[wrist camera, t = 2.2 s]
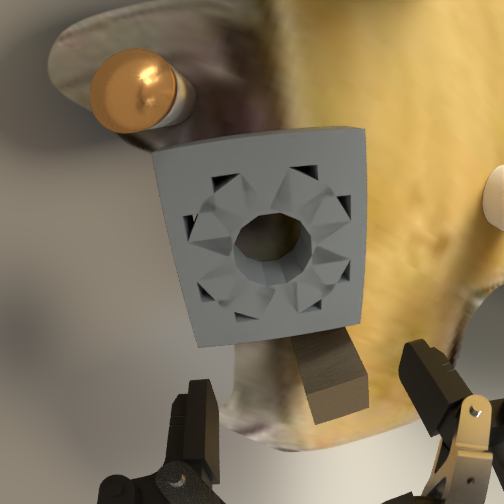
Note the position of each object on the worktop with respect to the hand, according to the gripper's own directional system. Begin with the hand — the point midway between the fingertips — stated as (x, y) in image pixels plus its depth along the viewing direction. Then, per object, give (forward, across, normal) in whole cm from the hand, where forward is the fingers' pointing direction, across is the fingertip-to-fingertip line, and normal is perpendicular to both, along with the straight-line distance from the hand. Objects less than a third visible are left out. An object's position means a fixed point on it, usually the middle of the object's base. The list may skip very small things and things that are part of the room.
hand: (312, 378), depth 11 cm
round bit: (+15, +6, -12) cm, 20 cm away
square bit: (+16, -4, +12) cm, 20 cm away
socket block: (+16, 0, 0) cm, 16 cm away
